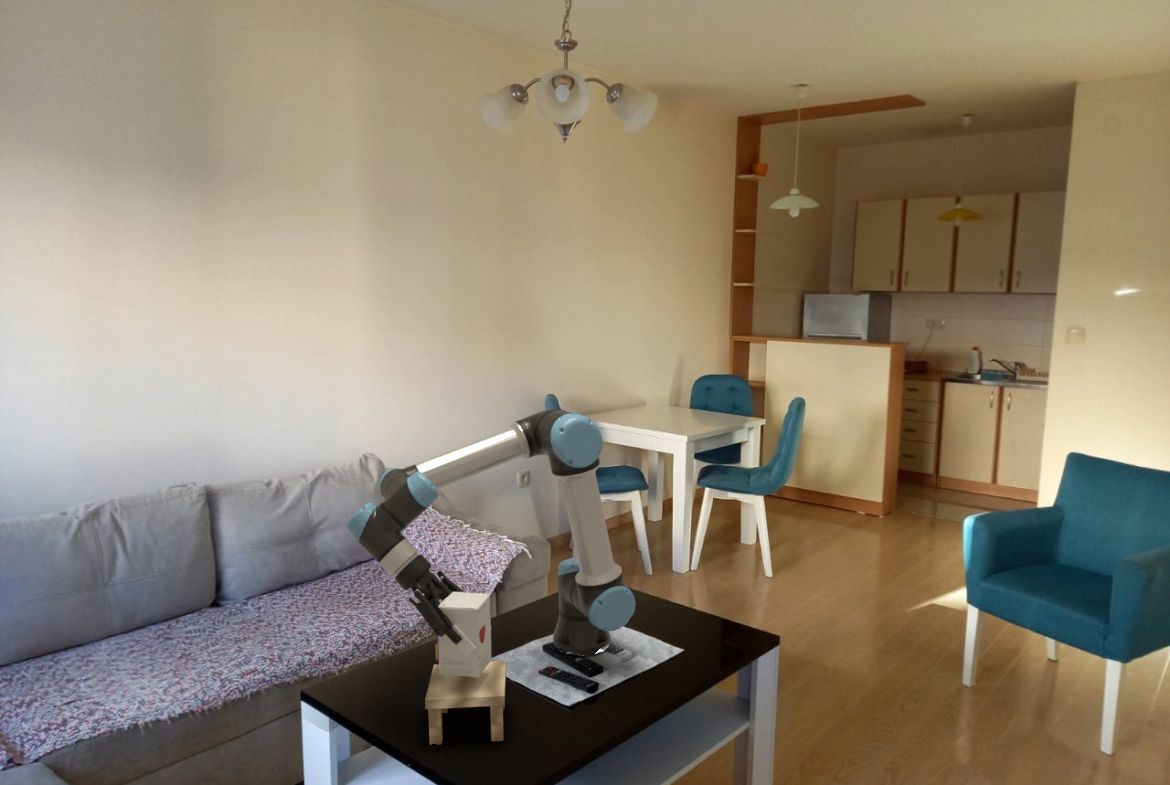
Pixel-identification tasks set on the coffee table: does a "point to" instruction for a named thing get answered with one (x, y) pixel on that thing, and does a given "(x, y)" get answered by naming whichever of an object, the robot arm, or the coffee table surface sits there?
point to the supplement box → (475, 624)
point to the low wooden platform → (466, 697)
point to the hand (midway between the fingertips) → (479, 642)
